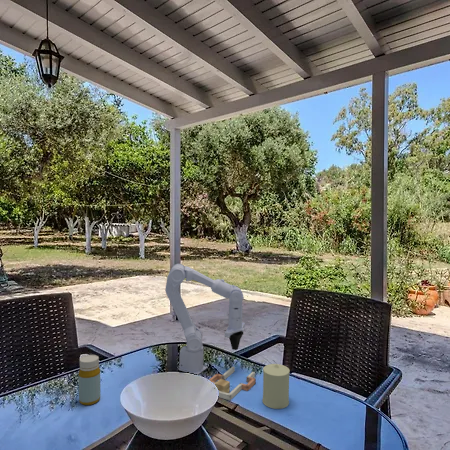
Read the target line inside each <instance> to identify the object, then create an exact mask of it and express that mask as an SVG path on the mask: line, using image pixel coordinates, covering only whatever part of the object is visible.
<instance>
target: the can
mask: <svg viewBox="0 0 450 450" xmlns="http://www.w3.org/2000/svg"><path fill="white" fill-rule="evenodd" d="M262 371H263V372H262V374H263V375H262V376H263V378H262V381H263V382H262V403H263V405H264V406H266V407H268V408H270V409H274V410H275V409H276V410H280V409H285V408H287V407H288V406H289V405H290V399H289V398H290V397H289V396H290V371H291V370H290V368H289V367H287V366H286V365H283V364H280V363H279V364H278V363H270V364H266V365H265V366H264V367H263V368H262Z"/></svg>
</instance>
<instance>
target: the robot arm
mask: <svg viewBox="0 0 450 450" xmlns="http://www.w3.org/2000/svg"><path fill="white" fill-rule="evenodd" d="M184 280H185V282H188V281H189V282H190V281H195V282H197V283H200V284H202V285H204V286H206V287H208V288H210V289H211V292H212V293H214V294H217V295H218V296H221V297H223V298H225V299H228V300H229V301H228V302H229V303H228V316H227V317H228V319H227V320H228V323H227V324H228V326H227V328H226V330H225V331H224V338H228V339H229V341H230V345H231V349H232V350H234V351H237V350H238V349H239V347H240V343H241V340H242V337H243V335H244V331H245V330H246V329H245V328H246V322H244V321H243V307H244V306H243V301H244V298H245V297H244V294H243V291H242V289H241V288H240V287H238V286H237V285H234V284H230V283H228V282H226V281H225V279H223V278H216V279H213V278H211V277H210V276H207V275H205V274H204V273H202V272H199V271H198V270H195V269H194V268H191V266H187V265H184V264H182V263H176V264H173V266H172V267H171V269H170V270H169V273H168V274H167V277H166V283H165V289H164V290H165V294H166V295H167V298H168V300H169V302H170V305H171V307H172V309H173V311H174V313H175V315H176V317H177V320H178V322H179V324H180V326H181V328H182V330H183V334H184V338H185V340H186V345H184V346H182V347H181V348H180V351H179V368H178V371H182V372H185V373H187V372H189V374H191V373H194V374H197V375H196V376H198V375H200V374H201V373H202V372H204V371H205V370H207V369H208V366H206V365H204V345H203V332H202V331H201V330H200V329H198V327H197V325H196V324H195V323H194V321H193V319H192V317H191V314H190V312H189V310H188V308H187V306H186V304H185V301H184V299H183V297H182V296H181V293H180V291H179V287H180V286H181V284H182V283H183V282H184ZM194 374H193V375H194Z"/></svg>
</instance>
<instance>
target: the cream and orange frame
mask: <svg viewBox="0 0 450 450" xmlns="http://www.w3.org/2000/svg"><path fill="white" fill-rule="evenodd" d="M235 371H236V369H235V366H232V367H230V368H229V369H228V370H226V371H225V372H224V373H223V374H220V373H215V374H214V375H213V376H212V377H210V378H209V379H208V380H210V381H211V382H213V383H214V384H215V383H216V382H217V381H218V380H220V379H222V380H227V378H229V377H230V376H232V374H234V373H235ZM255 375H256V372H255V371H252V372H251V373H250V374H248V375H247V376H246V380H245V381H246V383H243V382H239V384H238V385H236V387H235V388H233V389H232V390H231V391H230V392H229V393H225V392H222V391H219V397H218V398H220V399H224V400H227V401H231V400H232V399H234V397H236V396H237V395H238V393H240V392H241V391H242V390H243V391H246V392H248V391H249V390H251V388H253V386H254V385H256V383H257V382H256V381H257V378H256V376H255Z"/></svg>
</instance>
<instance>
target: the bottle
mask: <svg viewBox="0 0 450 450" xmlns="http://www.w3.org/2000/svg"><path fill="white" fill-rule="evenodd" d="M99 359H100V358H99V355H96V354H87V355H83V356H82V357H80V359H79V371H78V402H79V404H81V405H83V406H92V405H95V404H97V403H98V402H99V401H100V399H101V369H100V364H99V363H100V360H99Z"/></svg>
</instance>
